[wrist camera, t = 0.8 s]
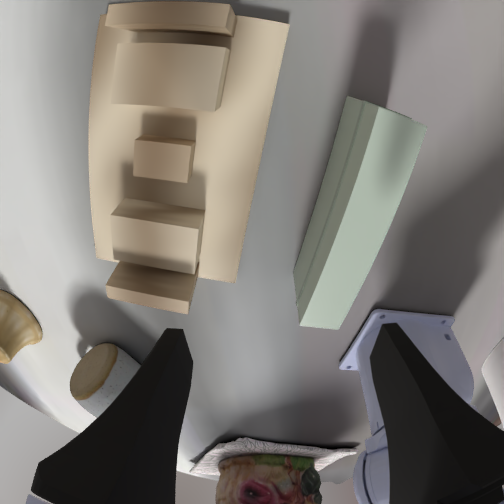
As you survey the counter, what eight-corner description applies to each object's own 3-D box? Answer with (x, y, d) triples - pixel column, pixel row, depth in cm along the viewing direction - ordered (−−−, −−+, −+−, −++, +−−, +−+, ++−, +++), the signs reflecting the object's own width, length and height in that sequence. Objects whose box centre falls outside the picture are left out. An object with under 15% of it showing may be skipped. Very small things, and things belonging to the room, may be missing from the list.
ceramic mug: (121, 329, 25) (93, 400, 18) (178, 376, 29) (164, 442, 22) (68, 350, 28) (43, 404, 22) (117, 389, 32) (101, 441, 26)
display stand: (288, 26, 12) (298, 10, 8) (235, 275, 21) (230, 324, 17) (107, 16, 11) (62, 7, 7) (101, 251, 20) (74, 292, 16)
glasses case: (385, 107, 14) (428, 125, 10) (325, 277, 21) (338, 330, 17) (345, 94, 14) (378, 105, 10) (292, 271, 21) (298, 325, 17)
